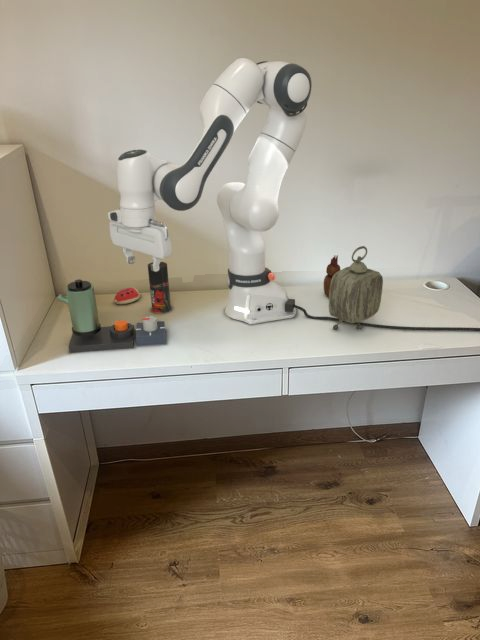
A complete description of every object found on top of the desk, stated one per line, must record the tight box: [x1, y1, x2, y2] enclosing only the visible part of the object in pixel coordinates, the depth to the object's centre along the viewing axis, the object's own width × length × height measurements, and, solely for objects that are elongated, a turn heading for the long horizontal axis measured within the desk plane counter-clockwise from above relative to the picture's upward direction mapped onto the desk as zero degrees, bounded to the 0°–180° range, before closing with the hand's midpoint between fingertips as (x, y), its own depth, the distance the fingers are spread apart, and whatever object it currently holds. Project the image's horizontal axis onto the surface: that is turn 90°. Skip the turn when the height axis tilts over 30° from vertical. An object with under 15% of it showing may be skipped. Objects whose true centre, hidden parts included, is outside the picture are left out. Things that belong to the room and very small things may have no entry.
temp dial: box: [141, 315, 158, 332], centre depth 155 cm, size 4×4×3 cm
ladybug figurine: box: [113, 287, 141, 305], centre depth 180 cm, size 7×10×4 cm
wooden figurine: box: [323, 254, 341, 298], centre depth 181 cm, size 7×6×15 cm
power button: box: [113, 319, 129, 331], centre depth 154 cm, size 4×4×2 cm
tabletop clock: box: [328, 245, 384, 331], centre depth 158 cm, size 14×9×25 cm, turn 134°
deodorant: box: [147, 261, 172, 314], centre depth 171 cm, size 6×6×15 cm
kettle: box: [56, 279, 102, 336], centre depth 150 cm, size 10×10×15 cm
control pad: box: [135, 320, 167, 347], centre depth 156 cm, size 8×9×3 cm
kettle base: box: [68, 322, 135, 354], centre depth 154 cm, size 17×11×4 cm, turn 100°
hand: (143, 266), depth 148 cm, fingers open, 8 cm apart
